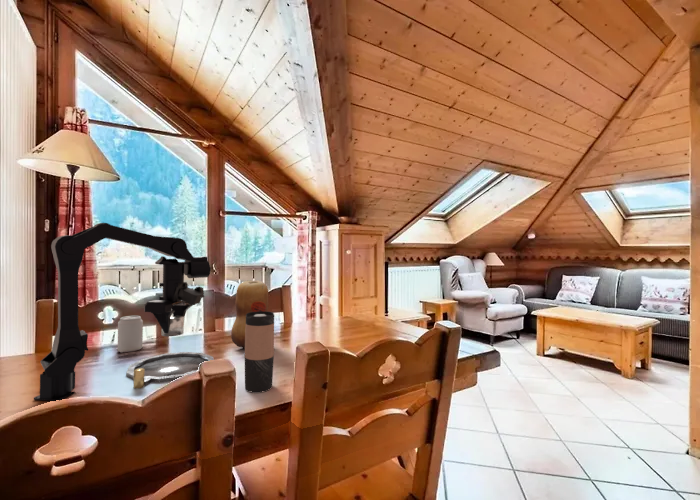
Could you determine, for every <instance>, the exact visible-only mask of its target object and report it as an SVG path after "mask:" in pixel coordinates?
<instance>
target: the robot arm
mask: <svg viewBox="0 0 700 500" xmlns="http://www.w3.org/2000/svg"><path fill="white" fill-rule="evenodd" d="M104 239H107V240H112V241H116V242H120V243H126V244H130V245H134V246H139V247H143V248H148V249H150V250H152V251H154V252H157V253H159V254H161V255H163V256H160V258H159V259H158V260H156V261H155V262H154V264H155V265H159V266H162V282H159V287H160V288H161V287H162V296H161V295H160V296H159V297H158V299H154V300H149V301H146V303H145V304H144V305H143V306H144V307H143V310H144V311H143V312H144V313H150V314H152V315H153V316H154V317H155V319H156V321H157V322H158V324H159V327H161V331H162V330H163V331H164V333H168V332H169V327H170V319H171V316H174V315H179V316H184V317H185V316H186V313H187V311H188V310H189V309H190V308H191V307H193V306H195V305H197V304H200V303H201V301H202V299H203V298H205V291H204V287H202V286H197V287H195V288H194V287H188V286H189V285H188V281H185V276H187V278H188V279H203V278H208V277H210V275H211V269H212V268H211V266H210V261H208V256H196V257H195V256H193V254H192V253H191V252H190V250H189V249H188V245H187V243H186V240H184V239H182V238H180V237H171V236H170V237H169V236H159V235H158V236H156V235H152V234H148V233H144V232H140V231H136V230H132V229H128V228H124V227H120V226H116V225H112V224H110V223H107V222H99V223H96V224H94V225H93V226H91V227H88V228H87V229H83V230H81V231H79V232H76V233H74V234H72V235H60V236H57V237H56V238H55V239H53V240H52V242H51V245H50V247H51V252H52V256H53V261H54V265H55V267H56V269H57V317H58V318H57V322H58V323H57V329H56V333H55V335H54V339H53V343H52V348H51V351H50V352H49V353H48V354H47V355H46V356H44V357H43V358H42V359H41V360H40V364H41V367H42V369H43V370H44V371H43V372H42V373H41V374H39V394H38V395H36V396H34V397H33V400H34V401H45V400H46V402H48V401H47V400H50V401H49V402H55V401H54V400H59V401H61V400H64V399H65V398H67V397H69V396H72V395H74V394H76V393H77V391H73V390H74V389H75V388H76V371H75V368H76V366H77V364H78V363H80V362H81V361H82V360H83V359H84V357H85V354H86V352H87V351H89V348H88V346H87V342H88V335H89V334H88V333H87V332H86V331H85V330H83V329H81V330H80V328H79V272H80V271H79V270H80V268H81V265H82V261H83V257H84V254H85V249H87V248H90V247H91V246H93V245H94V246H95V244H97V243H99V242H101V241H102V240H104ZM166 257H173V258H166ZM179 260H182V261H179ZM60 399H61V400H60Z"/></svg>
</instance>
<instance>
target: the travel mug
mask: <svg viewBox="0 0 700 500" xmlns="http://www.w3.org/2000/svg"><path fill="white" fill-rule="evenodd" d="M274 355H275V313H274V312H272V311H268V310H267V311H257V312H250V313H247V314H246V328H245V348H244V388H245V389H244V390H245V391H246V390H248V391H252V392H260V393H263V392H262V391H265V392H267V391H266V390H268V389H270V388H271V387H273V376H274V375H273V373H274V361H275V359H274ZM271 389H272V388H271ZM271 389H270V390H271ZM248 391H247V392H248ZM268 391H269V390H268ZM252 392H251V393H252Z"/></svg>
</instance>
